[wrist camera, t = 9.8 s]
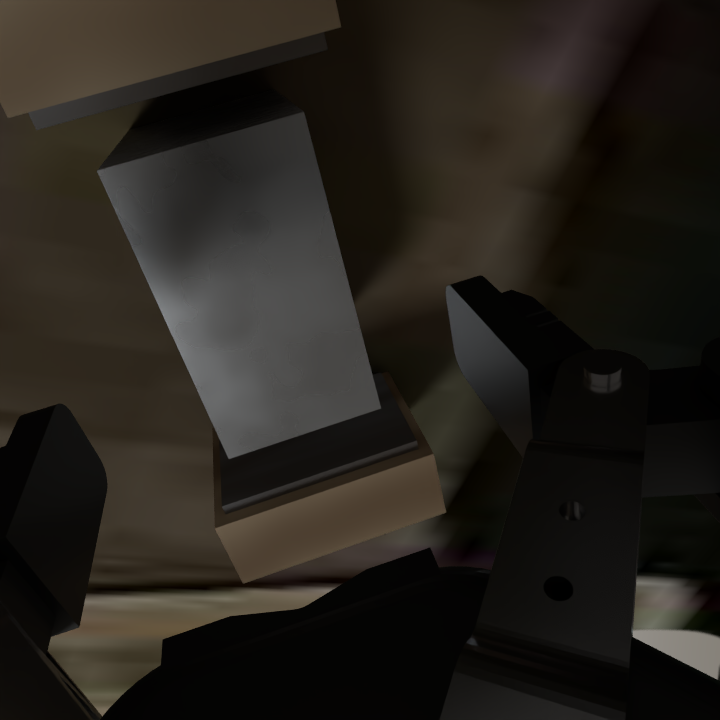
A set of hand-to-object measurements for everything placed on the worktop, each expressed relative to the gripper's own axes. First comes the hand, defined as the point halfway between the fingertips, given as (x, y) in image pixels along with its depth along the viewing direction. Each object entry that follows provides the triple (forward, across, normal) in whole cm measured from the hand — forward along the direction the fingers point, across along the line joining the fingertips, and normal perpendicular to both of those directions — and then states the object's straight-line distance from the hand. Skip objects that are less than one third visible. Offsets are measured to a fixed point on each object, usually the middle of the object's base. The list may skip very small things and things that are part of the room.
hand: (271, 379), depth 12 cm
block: (+11, 0, +1) cm, 11 cm away
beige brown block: (+11, 0, -7) cm, 13 cm away
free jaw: (+11, 0, +9) cm, 14 cm away
